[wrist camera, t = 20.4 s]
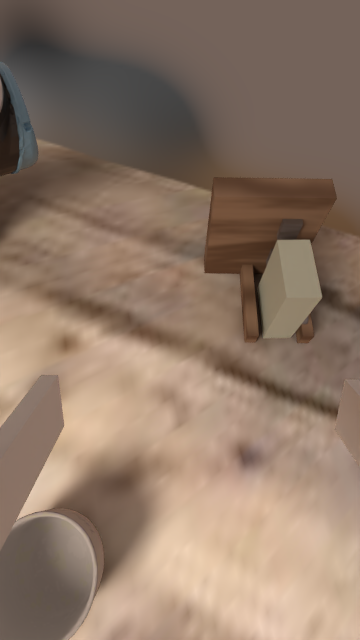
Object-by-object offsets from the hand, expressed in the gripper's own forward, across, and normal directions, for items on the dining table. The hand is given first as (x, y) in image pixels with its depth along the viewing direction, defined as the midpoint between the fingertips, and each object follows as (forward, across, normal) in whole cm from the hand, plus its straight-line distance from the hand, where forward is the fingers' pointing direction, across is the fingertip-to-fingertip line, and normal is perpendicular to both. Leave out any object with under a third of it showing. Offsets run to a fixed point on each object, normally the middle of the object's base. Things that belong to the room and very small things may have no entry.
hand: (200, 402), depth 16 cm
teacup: (+13, -15, -29) cm, 35 cm away
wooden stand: (+36, +10, -5) cm, 38 cm away
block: (+35, +13, -7) cm, 38 cm away
